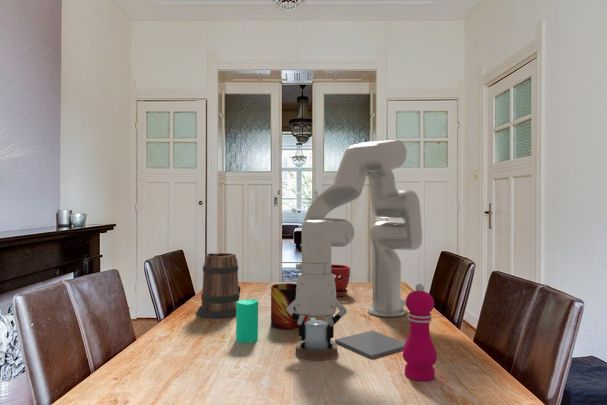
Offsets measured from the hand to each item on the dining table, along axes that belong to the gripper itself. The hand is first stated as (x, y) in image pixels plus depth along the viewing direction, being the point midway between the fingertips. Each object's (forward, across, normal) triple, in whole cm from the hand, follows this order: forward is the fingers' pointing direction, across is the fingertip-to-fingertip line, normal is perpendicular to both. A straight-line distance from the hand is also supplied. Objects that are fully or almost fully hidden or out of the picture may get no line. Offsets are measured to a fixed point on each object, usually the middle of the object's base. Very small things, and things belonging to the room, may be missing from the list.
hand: (316, 339), depth 103 cm
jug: (+3, -1, +2) cm, 4 cm away
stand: (+3, 0, 0) cm, 3 cm away
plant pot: (+4, 0, +66) cm, 66 cm away
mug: (+3, -10, +21) cm, 23 cm away
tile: (+3, +14, +7) cm, 16 cm away
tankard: (+3, -36, +35) cm, 51 cm away
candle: (+3, -20, +7) cm, 21 cm away
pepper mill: (+3, +24, -11) cm, 26 cm away
